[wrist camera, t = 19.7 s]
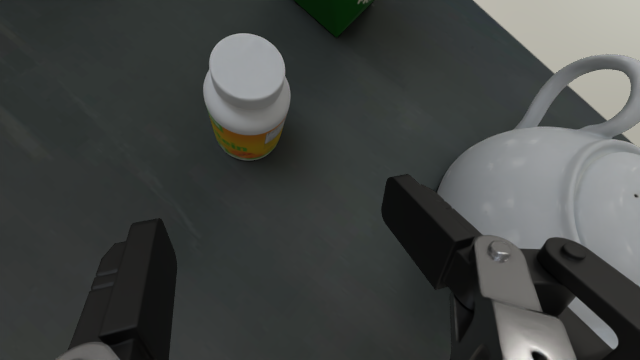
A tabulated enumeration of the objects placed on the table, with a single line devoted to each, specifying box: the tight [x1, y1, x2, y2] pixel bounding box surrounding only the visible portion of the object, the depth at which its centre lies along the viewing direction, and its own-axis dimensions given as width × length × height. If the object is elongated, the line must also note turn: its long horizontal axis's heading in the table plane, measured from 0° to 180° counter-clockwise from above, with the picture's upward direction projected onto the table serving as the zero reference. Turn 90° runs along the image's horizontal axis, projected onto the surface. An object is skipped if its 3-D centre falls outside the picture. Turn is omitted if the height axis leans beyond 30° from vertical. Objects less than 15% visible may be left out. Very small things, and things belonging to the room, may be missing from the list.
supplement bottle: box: [203, 33, 290, 161], centre depth 20 cm, size 5×5×10 cm
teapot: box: [437, 54, 640, 349], centre depth 22 cm, size 19×18×14 cm
